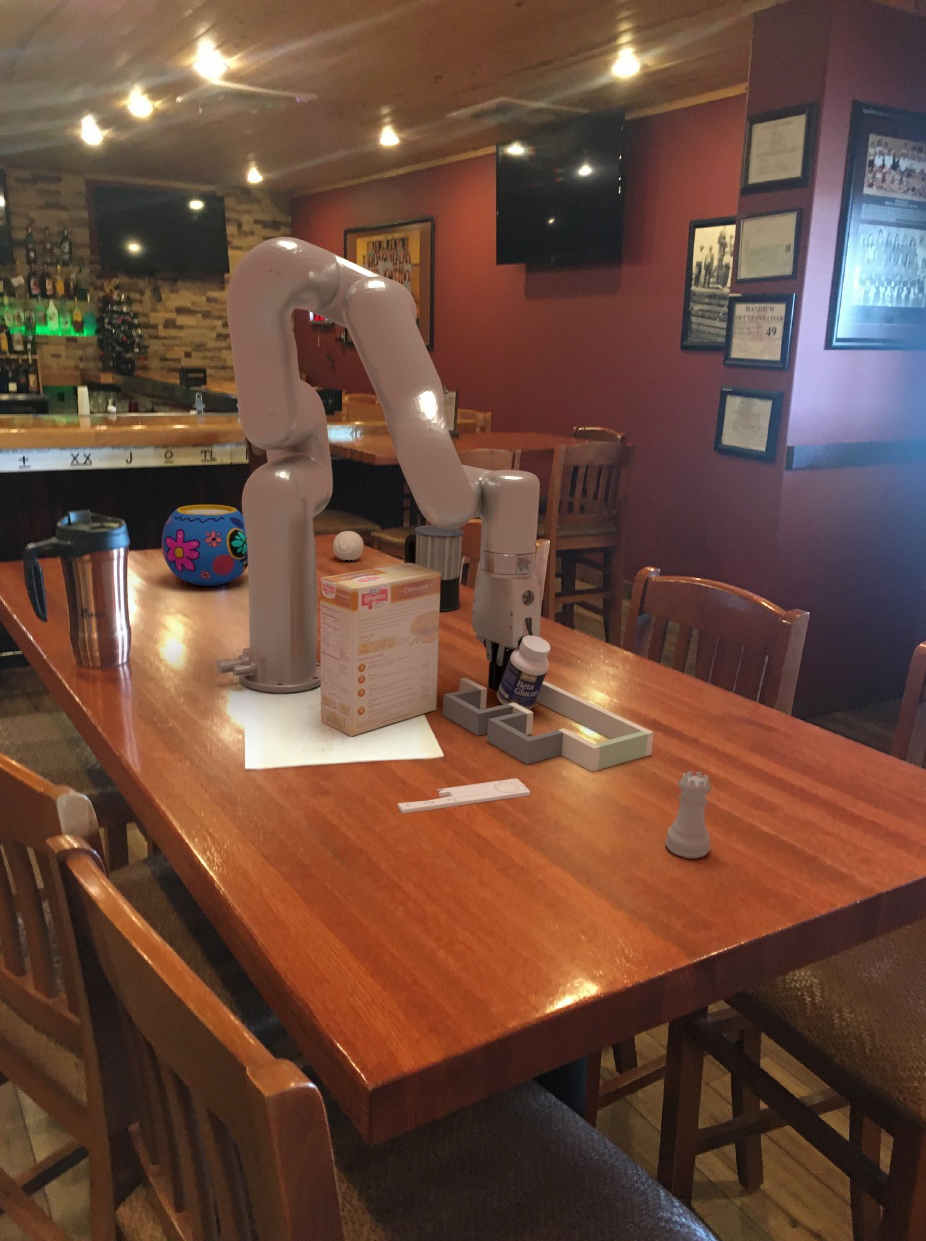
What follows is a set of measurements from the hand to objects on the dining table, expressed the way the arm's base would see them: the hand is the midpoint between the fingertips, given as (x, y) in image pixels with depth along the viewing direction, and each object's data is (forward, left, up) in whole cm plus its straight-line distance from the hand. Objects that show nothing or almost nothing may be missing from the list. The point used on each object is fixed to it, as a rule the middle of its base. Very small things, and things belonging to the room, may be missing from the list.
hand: (500, 688), depth 135 cm
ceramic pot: (-12, +79, -2) cm, 80 cm away
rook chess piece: (-9, -44, -2) cm, 45 cm away
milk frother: (+15, +46, -2) cm, 49 cm away
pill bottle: (0, -4, -1) cm, 4 cm away
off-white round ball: (+23, +86, -2) cm, 89 cm away
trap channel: (-3, -11, -1) cm, 12 cm away
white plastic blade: (-22, -22, -2) cm, 31 cm away
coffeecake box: (-18, +2, -2) cm, 19 cm away
